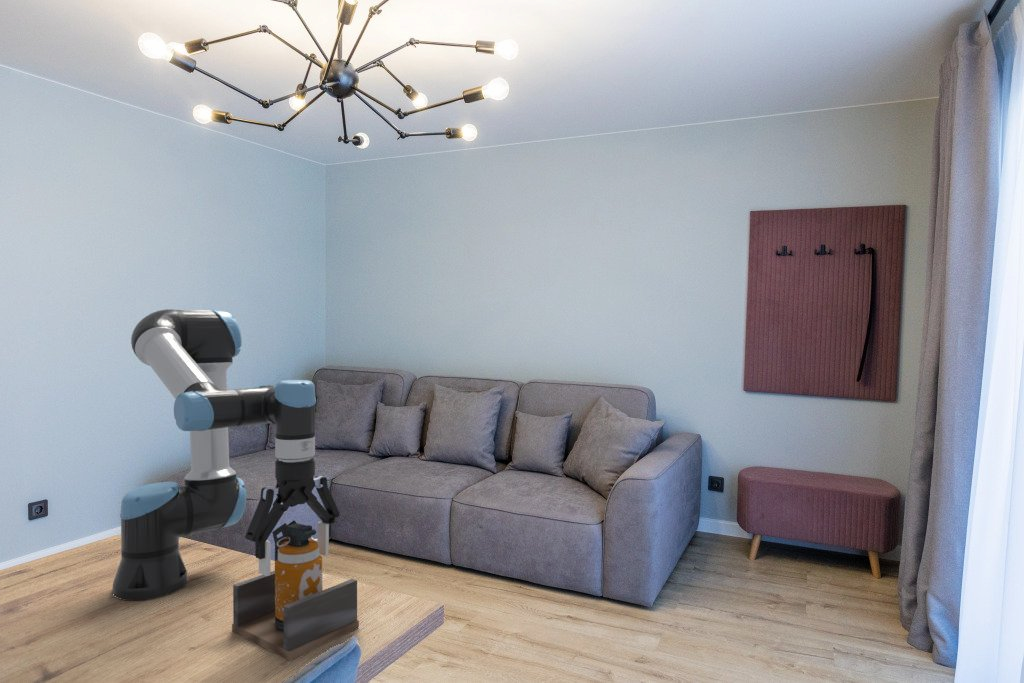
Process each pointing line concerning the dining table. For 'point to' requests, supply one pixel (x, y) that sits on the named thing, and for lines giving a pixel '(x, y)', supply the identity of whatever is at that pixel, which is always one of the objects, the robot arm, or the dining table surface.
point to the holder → (293, 616)
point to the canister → (295, 566)
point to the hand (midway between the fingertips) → (295, 563)
